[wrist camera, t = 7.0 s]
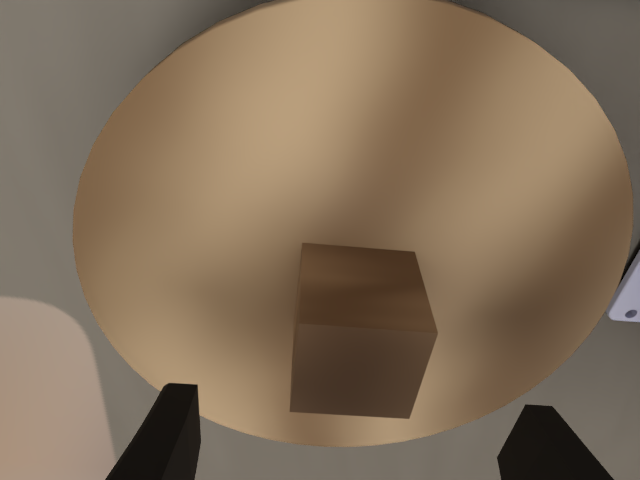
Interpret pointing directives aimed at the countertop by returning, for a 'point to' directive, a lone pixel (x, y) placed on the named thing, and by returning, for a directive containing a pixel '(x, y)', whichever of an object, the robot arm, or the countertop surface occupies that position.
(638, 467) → the countertop surface
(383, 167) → the lid
